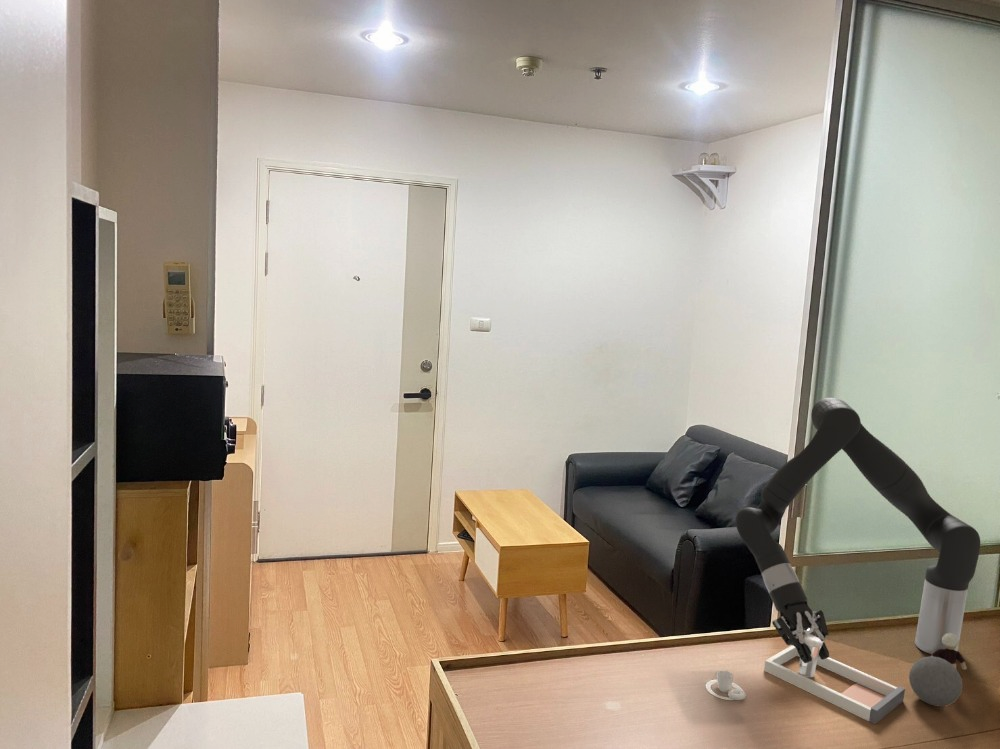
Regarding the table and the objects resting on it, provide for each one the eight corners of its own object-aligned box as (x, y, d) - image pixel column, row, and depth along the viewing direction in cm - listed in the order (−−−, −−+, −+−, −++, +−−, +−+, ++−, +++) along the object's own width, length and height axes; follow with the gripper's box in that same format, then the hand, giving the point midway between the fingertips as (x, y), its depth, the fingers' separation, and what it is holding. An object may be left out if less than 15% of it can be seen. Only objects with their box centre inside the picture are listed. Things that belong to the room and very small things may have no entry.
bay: (794, 652, 188) (796, 640, 188) (903, 701, 170) (905, 688, 169) (763, 670, 179) (765, 658, 178) (874, 724, 160) (876, 710, 160)
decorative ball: (896, 689, 174) (902, 647, 173) (938, 689, 175) (945, 647, 174) (924, 716, 165) (931, 671, 163) (969, 716, 166) (976, 672, 164)
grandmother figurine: (955, 683, 179) (963, 631, 176) (964, 692, 175) (973, 639, 173) (921, 680, 179) (929, 628, 177) (929, 690, 175) (938, 637, 173)
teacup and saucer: (750, 704, 166) (752, 686, 165) (713, 704, 165) (715, 686, 164) (735, 681, 174) (737, 664, 174) (700, 681, 174) (702, 664, 173)
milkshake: (822, 681, 176) (829, 640, 174) (797, 677, 177) (804, 635, 175) (818, 671, 180) (825, 630, 178) (794, 667, 181) (800, 626, 179)
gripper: (770, 584, 179) (803, 660, 170) (816, 577, 185) (851, 650, 176) (751, 596, 184) (782, 670, 176) (797, 589, 190) (829, 660, 182)
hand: (817, 659), depth 176 cm, fingers closed on milkshake, 4 cm apart
